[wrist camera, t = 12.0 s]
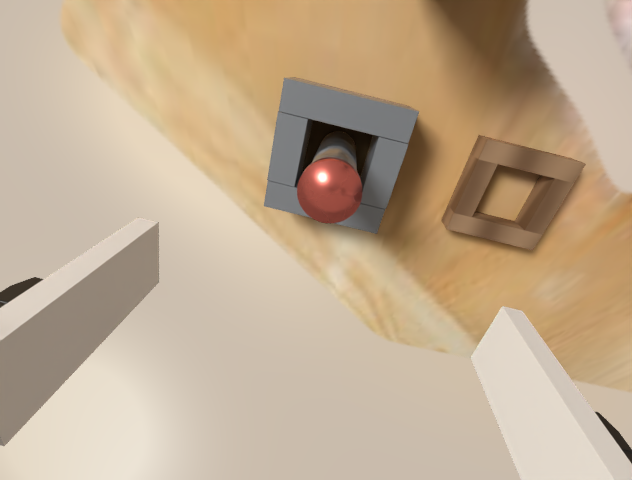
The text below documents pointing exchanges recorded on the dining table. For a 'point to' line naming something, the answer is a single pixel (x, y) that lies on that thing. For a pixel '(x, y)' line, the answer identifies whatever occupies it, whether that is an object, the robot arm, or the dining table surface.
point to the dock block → (349, 112)
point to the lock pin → (331, 181)
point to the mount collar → (538, 206)
